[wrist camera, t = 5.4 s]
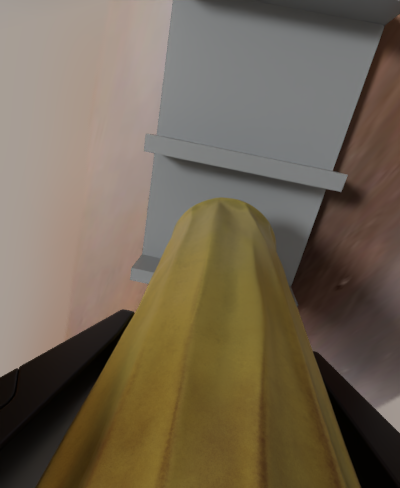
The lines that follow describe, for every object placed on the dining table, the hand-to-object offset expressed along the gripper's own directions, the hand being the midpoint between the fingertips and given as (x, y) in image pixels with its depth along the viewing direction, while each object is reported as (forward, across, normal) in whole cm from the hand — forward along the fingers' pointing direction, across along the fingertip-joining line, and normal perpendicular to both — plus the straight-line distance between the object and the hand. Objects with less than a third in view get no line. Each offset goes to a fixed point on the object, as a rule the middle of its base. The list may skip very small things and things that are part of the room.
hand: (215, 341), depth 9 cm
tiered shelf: (+13, 0, -5) cm, 14 cm away
